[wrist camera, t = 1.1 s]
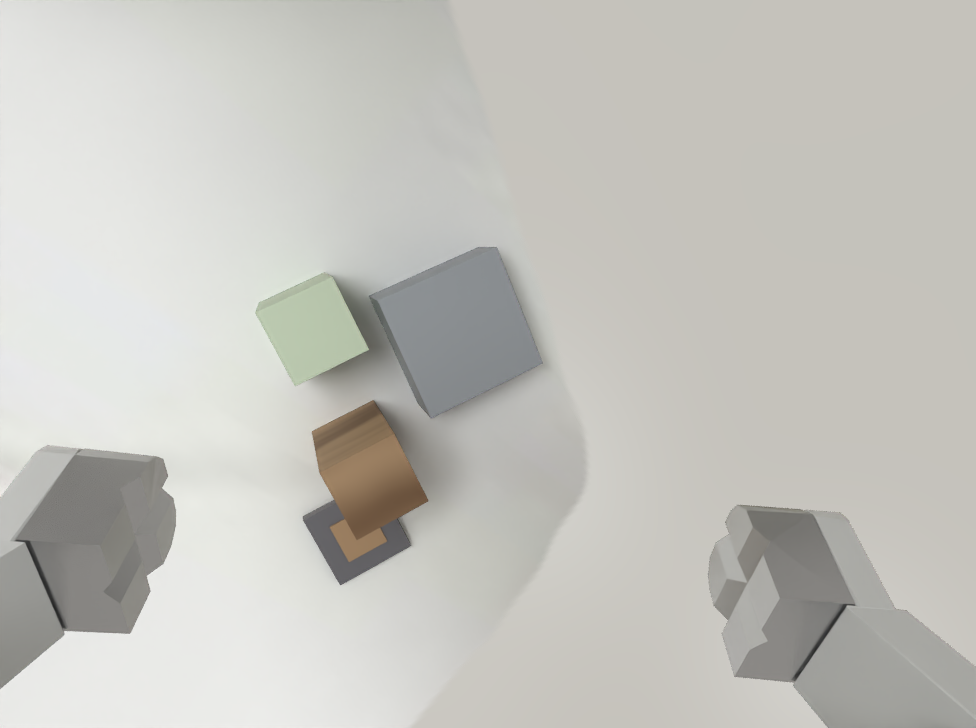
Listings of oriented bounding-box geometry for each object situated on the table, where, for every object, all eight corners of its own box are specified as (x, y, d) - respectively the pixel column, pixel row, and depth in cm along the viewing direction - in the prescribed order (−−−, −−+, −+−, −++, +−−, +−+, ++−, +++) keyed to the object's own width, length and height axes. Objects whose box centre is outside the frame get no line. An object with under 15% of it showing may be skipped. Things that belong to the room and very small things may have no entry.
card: (302, 516, 52) (303, 521, 51) (375, 477, 53) (377, 482, 52) (339, 580, 54) (340, 586, 53) (409, 541, 55) (411, 546, 54)
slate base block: (368, 295, 51) (377, 300, 47) (477, 247, 53) (496, 247, 48) (417, 403, 54) (431, 418, 49) (520, 353, 55) (542, 363, 51)
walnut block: (311, 431, 52) (319, 472, 42) (373, 400, 52) (394, 433, 43) (342, 488, 53) (356, 540, 43) (402, 456, 54) (428, 500, 44)
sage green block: (258, 302, 49) (255, 312, 41) (324, 272, 50) (332, 276, 42) (292, 365, 50) (294, 386, 43) (355, 334, 51) (369, 349, 44)
